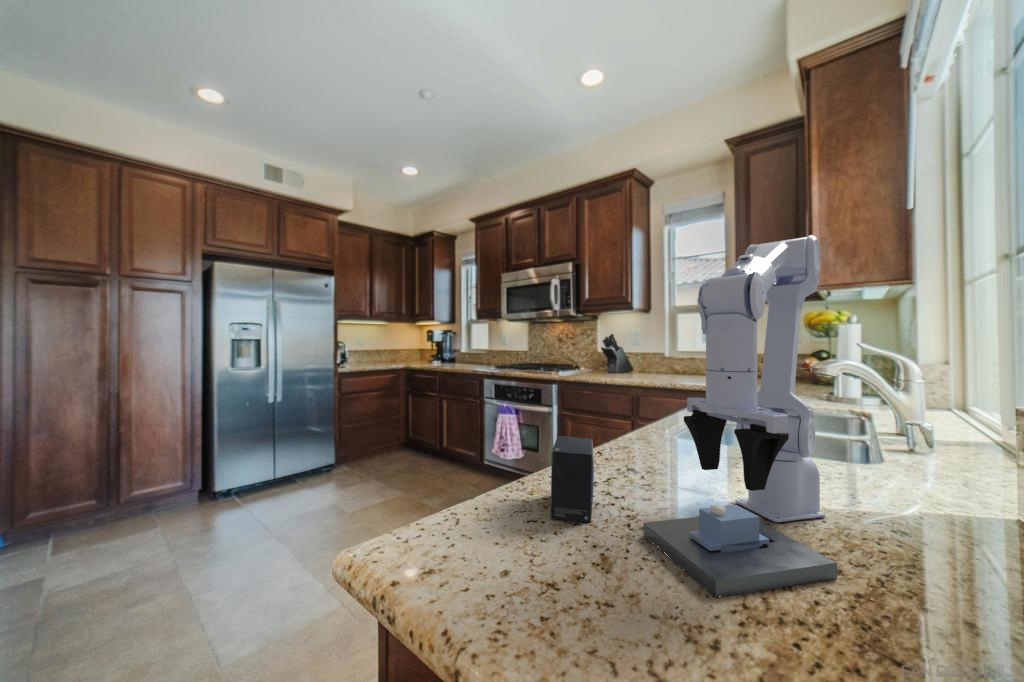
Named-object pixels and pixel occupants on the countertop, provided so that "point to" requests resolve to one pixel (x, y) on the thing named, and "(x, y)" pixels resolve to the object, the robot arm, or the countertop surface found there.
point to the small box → (572, 479)
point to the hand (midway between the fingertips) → (730, 478)
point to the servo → (728, 529)
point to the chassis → (740, 559)
